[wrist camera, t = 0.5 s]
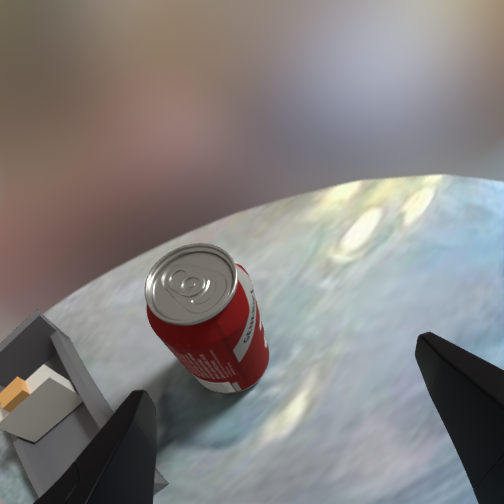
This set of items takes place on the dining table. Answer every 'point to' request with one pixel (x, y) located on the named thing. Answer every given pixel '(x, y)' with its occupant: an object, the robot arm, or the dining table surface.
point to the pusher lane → (71, 426)
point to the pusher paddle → (37, 403)
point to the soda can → (208, 317)
